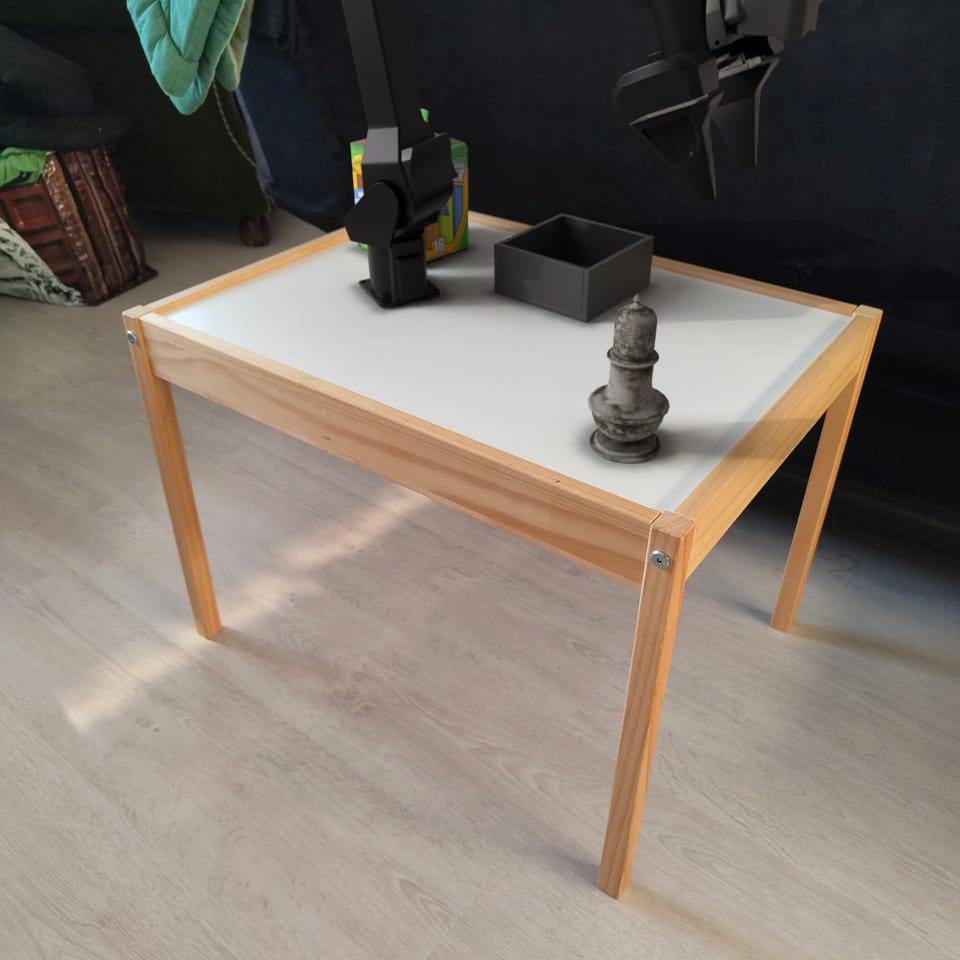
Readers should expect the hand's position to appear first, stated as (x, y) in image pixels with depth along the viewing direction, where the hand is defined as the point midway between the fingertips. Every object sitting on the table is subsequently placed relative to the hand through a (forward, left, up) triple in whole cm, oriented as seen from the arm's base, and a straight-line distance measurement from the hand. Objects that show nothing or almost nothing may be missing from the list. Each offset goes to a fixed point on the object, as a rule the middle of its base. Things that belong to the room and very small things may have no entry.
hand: (729, 183), depth 67 cm
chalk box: (-37, -11, -16) cm, 42 cm away
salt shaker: (+7, -13, -16) cm, 21 cm away
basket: (-19, -1, -16) cm, 25 cm away
